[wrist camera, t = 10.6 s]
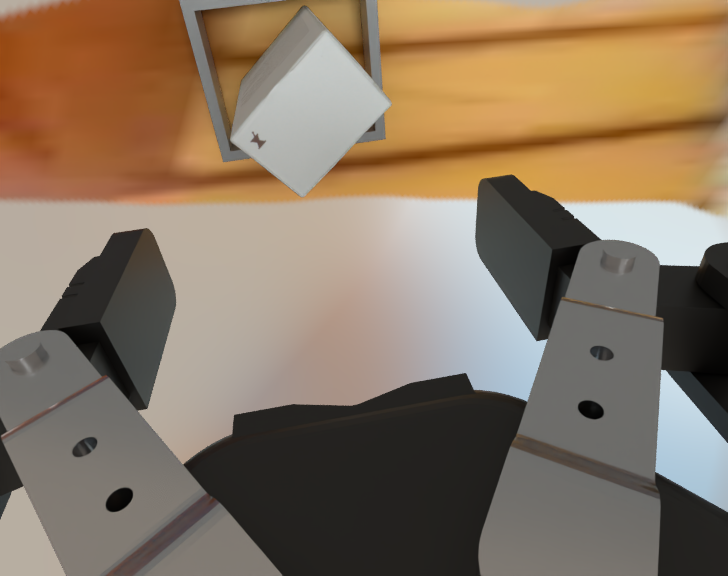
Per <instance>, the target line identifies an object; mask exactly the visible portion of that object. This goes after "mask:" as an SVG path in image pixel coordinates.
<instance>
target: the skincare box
mask: <svg viewBox="0 0 728 576" xmlns="http://www.w3.org/2000/svg"><path fill="white" fill-rule="evenodd" d="M391 105H392V103H391V101H390V99H389V98H388V97H387V96H386V95H385V93H384V92H383V91H382V90H381V89H380V87H379V86H378V85H377V84H376V83H375V82H374V80H373V79H372V78H371V77H370V76H369V75H368V73H367V72H366V71H365V70H364V69H363V68H362V67H361V65H360V64H359V63H358V62H357V61H356V60H355V59H354V58H353V56H352V55H351V54H350V53H349V52H348V51H347V50H346V49H345V48H344V46H343V45H342V44H341V43H340V42H339V41H338V40H337V39H336V38H335V37H334V35H333V34H332V33H331V32H330V31H329V30H328V29H327V28H326V27H325V26H324V25H323V24H322V22H321V21H320V20H319V19H318V18H317V17H316V16H315V15H314V14H313V13H312V11H311V10H310V9H309V8H308V7H307V6H302V8H301V9H300V10H299V11H298V12H297V14H296V15H295V16H294V17H293V18H292V20H291V21H290V22H289V23H288V24H287V26H286V27H285V28H284V29H283V30H282V32H281V33H280V34H279V35H278V37H277V38H276V39H275V40H274V41H273V43H272V44H271V45H270V46H269V47H268V49H267V50H266V51H265V52H264V54H263V55H262V56H261V57H260V58H259V60H258V61H257V62H256V63H255V65H254V66H253V67H252V68H251V69H250V71H249V72H248V73H247V74H246V75H245V77H244V78H243V79H242V80H241V85H240V90H239V95H238V101H237V106H236V110H235V116H234V121H233V125H232V131H231V137H230V141H231V142H232V143H233V144H235V145H236V146H237V147H238V148H240V149H241V150H242V151H244V152H245V153H246V154H247V155H249V156H250V157H251V158H253V159H254V160H255V161H256V162H258V163H259V164H260V165H261V166H263V167H264V168H265V169H266V170H268V171H269V172H270V173H271V174H273V175H274V176H275V177H276V178H278V179H279V180H280V181H282V182H283V183H284V184H285V185H287V186H288V187H289V188H290V189H292V190H293V191H294V192H295V193H296V194H298V195H299V196H300V197H305V196H306V194H307V193H308V192H309V191H310V190H311V189H312V188H313V187H314V186H315V185H316V184H317V183H318V182H319V181H320V180H321V179H322V178H323V177H324V176H325V175H326V174H327V173H328V172H329V171H330V170H331V169H332V168H333V167H334V166H335V164H336V163H337V162H338V161H339V160H340V159H341V158H342V157H343V156H344V155H345V154H346V153H347V151H348V150H349V149H350V148H351V147H352V146H353V145H354V144H355V143H356V142H357V141H358V140H359V138H360V137H361V136H362V135H363V134H364V133H365V132H366V131H367V130H368V129H369V128H370V127H371V126H372V125H373V124H374V123H375V122H376V121H377V120H378V118H379V117H380V116H381V115H382V114H383V113H384V112H385V111H386V110H387V109H388V108H389V107H390V106H391Z"/></svg>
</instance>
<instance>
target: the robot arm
mask: <svg viewBox="0 0 728 576" xmlns="http://www.w3.org/2000/svg"><path fill="white" fill-rule="evenodd" d="M475 238H476V247H477V251H478V254H479V257H480V259H481V260H482V262H483V263H484V265H485V266H486V268H487V269H488V271H489V272H490V273H491V275H492V276H493V278H494V279H495V281H496V282H497V283H498V285H499V287H500V288H501V289H502V291H503V292H504V294H505V295H506V297H507V298H508V300H509V301H510V302H511V304H512V306H513V307H514V309H515V310H516V312H517V313H518V314H519V316H520V317H521V319H522V320H523V322H524V323H525V325H526V326H527V328H528V329H529V330H530V332H531V333H532V335H533V336H534V338H535V339H536V341H540V340H545V339H548V340H547V343H546V346H545V350H544V353H543V356H542V359H541V362H540V365H539V368H538V371H537V374H536V377H535V380H534V383H533V386H532V389H531V393H530V396H529V399H528V402H526V401H524V400H522V399H519V398H516V397H513V396H510V395H506V394H502V393H497V392H491V391H483V390H473V387H472V385H471V383H470V381H469V379H468V377H467V374H466V373H464V374H458V375H452V376H447V377H442V378H436V379H431V380H425V381H419V382H414V383H410V384H407V385H405V386H402V387H400V388H397V389H395V390H392V391H390V392H388V393H385V394H382V395H380V396H378V397H375V398H373V399H370V400H368V401H365V402H363V403H361V404H358V405H353V406H336V405H335V406H334V405H296V404H292V405H286V406H282V407H275V408H270V409H264V410H259V411H253V412H248V413H242V414H237V415H234V422H233V434H232V435H229V436H227V437H225V438H223V439H221V440H219V441H217V442H215V443H213V444H211V445H210V446H208V447H206V448H205V449H203V450H202V451H200V452H199V453H197V454H196V455H195V456H193V457H192V458H191V459H189V460H188V461H187V462H186V463H185V464H182V463H181V462H180V461H179V460H178V458H177V457H176V456H175V455H174V454H173V452H172V451H171V450H170V449H169V448H168V447H167V445H166V444H165V443H164V442H163V441H162V439H161V438H160V437H159V436H158V435H157V434H156V432H155V431H154V430H153V429H152V428H151V426H150V425H149V424H148V423H147V422H146V421H145V419H144V418H143V417H142V416H141V415H140V413H139V412H138V410H143V409H147V408H148V404H149V401H150V397H151V394H152V390H153V386H154V383H155V379H156V376H157V372H158V369H159V365H160V361H161V358H162V354H163V351H164V347H165V343H166V340H167V336H168V333H169V329H170V325H171V322H172V318H173V315H174V310H175V307H176V296H175V290H174V285H173V282H172V280H171V277H170V275H169V272H168V270H167V267H166V265H165V262H164V260H163V257H162V255H161V252H160V250H159V247H158V245H157V242H156V240H155V237H154V235H153V233H152V232H151V231H150V230H149V229H147V228H145V229H139V230H132V231H125V232H119V233H114V234H112V236H111V238H110V239H109V241H108V243H107V244H106V246H105V248H104V250H103V251H102V253H101V255H100V256H97V257H94V258H92V259H91V260H90V261H89V262H87V263H86V264H85V265H84V266H83V267H81V268H80V269H79V270H78V271H77V272H76V274H75V275H74V277H73V279H72V280H71V282H70V284H69V287H67V288H66V290H65V292H64V293H63V295H62V299H60V300H59V301H58V303H57V305H56V306H55V308H54V309H53V311H52V312H51V314H50V316H49V317H48V319H47V321H46V322H45V324H44V325H43V327H42V329H41V330H40V331H39V332H35V333H31V334H28V335H26V336H23V337H20V338H18V339H16V340H14V341H12V342H10V343H8V344H7V345H5V346H4V347H2V348H1V349H0V519H1V516H2V514H3V511H4V509H5V507H6V504H7V502H8V499H9V497H10V495H11V492H12V491H14V490H16V489H18V488H20V487H23V486H24V488H25V490H26V492H27V494H28V496H29V498H30V500H31V502H32V504H33V507H34V509H35V510H36V513H37V515H38V517H39V519H40V521H41V524H42V526H43V528H44V529H45V532H46V534H47V536H48V538H49V540H50V542H51V544H52V547H53V549H54V551H55V553H56V555H57V557H58V559H59V561H60V564H61V566H62V568H63V570H64V572H65V574H66V576H728V512H726V511H724V510H723V509H721V508H719V507H717V506H716V505H714V504H712V503H710V502H708V501H707V500H705V499H703V498H701V497H699V496H698V495H696V494H694V493H692V492H690V491H689V490H687V489H685V488H683V487H682V486H680V485H678V484H676V483H674V482H673V481H671V480H669V479H667V478H665V477H664V476H662V475H660V474H658V473H656V472H655V467H656V449H657V431H658V415H659V396H660V380H661V370H666V371H667V372H668V373H669V375H670V376H671V377H672V378H673V379H674V381H675V382H676V383H677V384H678V385H679V386H680V388H681V389H682V390H683V391H684V392H685V393H686V395H687V396H688V397H689V398H690V399H691V400H692V402H693V403H694V404H695V405H696V406H697V408H698V409H699V410H700V411H701V412H702V413H703V415H704V416H705V417H706V418H707V419H708V420H709V421H710V423H711V424H712V425H713V426H714V427H715V429H716V430H717V431H718V432H719V433H720V435H721V436H722V437H723V438H724V439H725V440H726V442H727V443H728V242H727V243H720V244H715V245H712V246H710V247H709V248H708V249H707V250H706V251H705V253H704V256H703V259H702V261H701V264H700V266H668V265H660V264H659V261H658V258H657V257H656V256H655V255H654V254H653V253H652V252H650V251H649V250H647V249H646V248H643V247H642V246H639V245H636V244H633V243H630V242H625V241H619V240H601V239H600V238H599V237H597V236H596V235H595V234H594V233H593V232H592V231H591V230H589V229H588V228H587V227H586V226H585V225H584V224H582V223H581V222H580V221H579V220H578V219H574V216H573V215H572V214H571V213H570V212H569V211H567V210H565V208H564V207H563V206H562V205H561V204H559V203H558V202H557V201H556V200H555V199H554V198H552V197H549V196H547V195H545V194H542V193H540V192H537V191H531V190H529V189H528V188H527V187H526V186H525V185H524V184H523V183H522V182H521V181H520V180H518V179H517V178H516V177H515V176H514V175H505V176H499V177H492V178H485V179H482V180H481V181H480V183H479V187H478V200H477V218H476V235H475Z"/></svg>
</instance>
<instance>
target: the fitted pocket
mask: <svg viewBox="0 0 728 576" xmlns="http://www.w3.org/2000/svg"><path fill="white" fill-rule="evenodd" d="M179 1H180V5H181V9H182V12H183V16H184V20H185V23H186V27H187V31H188V34H189V38H190V42H191V45H192V49H193V53H194V56H195V60H196V64H197V67H198V71H199V75H200V78H201V82H202V86H203V89H204V93H205V97H206V100H207V104H208V108H209V111H210V115H211V119H212V122H213V126H214V130H215V133H216V137H217V141H218V144H219V148H220V152H221V155H222V159H223V162H228V161H235V160H242V159H249V158H251V157H250V156H249V155H247V154H246V153H245V152H244V151H242V150H241V149H240V148H238V147H237V146H236V145H235V144H233V143H232V142H231V141H230V137H231V128H230V124H229V120H228V116H227V112H226V108H225V104H224V100H223V96H222V92H221V89H220V85H219V81H218V77H217V73H216V69H215V65H214V61H213V57H212V53H211V49H210V45H209V41H208V37H207V33H206V29H205V25H204V21H203V17H202V13H201V10H207V9H215V8H224V7H232V6H241V5H250V4H258V3H267V2H275V1H284V0H179ZM360 12H361V25H362V37H363V49H364V62H365V71H366V72H367V73H368V75H369V76H370V77H371V78H372V79H373V80H374V82H375V83H376V84H377V85H378V86H379V87H380V89H381V90H382V74H381V58H380V42H379V26H378V10H377V0H360ZM382 91H383V90H382ZM383 139H386V138H385V122H384V113H383V114H382V115H381V116H380V117H379V118H378V120H377V121H376V122H375V123H374V124H373V125H372V126H371V127H370V128H369V129H368V130H367V131H366V132H365V133H364V134H363V135H362V136H361V137H360V138H359V140H358V141H357V142H356V143H362V142H369V141H376V140H383Z"/></svg>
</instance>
